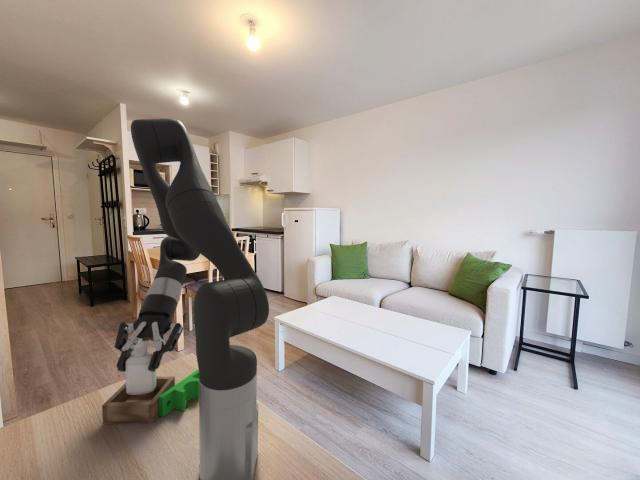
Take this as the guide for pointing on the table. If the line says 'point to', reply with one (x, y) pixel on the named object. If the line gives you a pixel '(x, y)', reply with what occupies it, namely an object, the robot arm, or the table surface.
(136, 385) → the eye dropper bottle
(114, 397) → the box
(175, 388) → the pipe clamp
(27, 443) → the table surface
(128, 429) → the table surface
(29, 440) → the table surface
